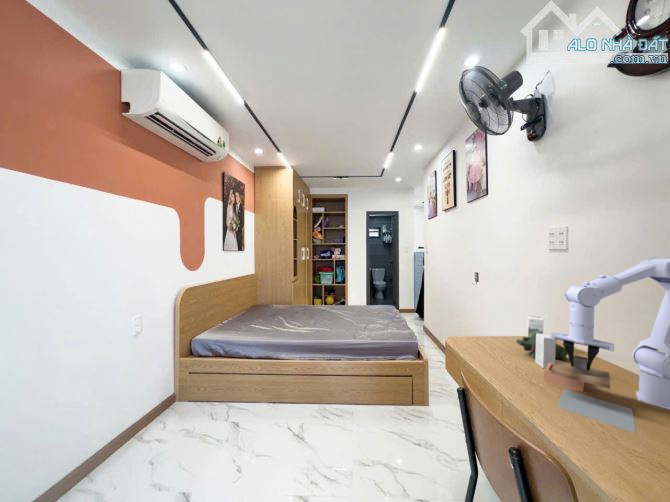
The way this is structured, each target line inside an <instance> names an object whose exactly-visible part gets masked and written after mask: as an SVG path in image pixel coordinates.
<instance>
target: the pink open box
mask: <svg viewBox="0 0 670 502" xmlns="http://www.w3.org/2000/svg"><path fill="white" fill-rule="evenodd" d="M553 365H554V363H550V362H548V364H547V366H546V368H543V369H544V370H543V381H544V382H547V383H552V384H554V385H558V386H561V387H564V388H569V389H573V390H575V391H579V392H582V393H583V392H584V388H585V383H586V382H582V381H579V380H575V379H571V378H567V377H564V376H560V375H556V374H552V373H551V369H552V367H553Z"/></svg>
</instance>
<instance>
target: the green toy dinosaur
mask: <svg viewBox="0 0 670 502" xmlns="http://www.w3.org/2000/svg"><path fill="white" fill-rule="evenodd" d="M536 333H537V332H536ZM536 333H535V334H534V335H533V336H532V337H527V336H526V337H525V336H522V340H521V339H517V338H516V343H517V344H518V345H519V346H522V348H523V351H525V352H527V354H529V355H530V356H531V357H532V358H534V359H535V353H536ZM537 334H539V333H537ZM567 356H568V354H567V351H566V349H565V348H564V346H562V345H560V344H558V343H557V342H556V346H555V358H557V359H558V360H559V359H560V361H564V362H568V363H570V359H569V358H568V359H567V358H566V357H567Z"/></svg>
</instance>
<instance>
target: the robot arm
mask: <svg viewBox="0 0 670 502" xmlns="http://www.w3.org/2000/svg"><path fill="white" fill-rule="evenodd" d="M646 278H650V279H651V280H653V281H654V282H655V283H657V284H659V285H660V286H661V287H662V288H663V289H664V290H665V291H664V296H663V298H662V300H661V301H662V302H661V305H660V307H659V309H658V313H657V316H656V318H655V321H654V326H653V327H652V330H651V334H650V336H649V338H646V339H643V340H640V341H639V343H638V345H637V347H636V348H635V349H633V351H632V353H631V358H632V359H633V362H635V363H636V364H637V365H636V366H637V368H638V369H639V370H638V371H639V372H638V373H639V375H638V377H639V378H638V391H637V390H636V391H635V393H636V399H637V401H638V402H642V403H644V404H645V403H646V404H648V405H652V406H656V407H659V408H663V409H666V410H670V258H664V257H663V258H660V257H659V258H658V257H650V258H647V259H645V260H641V261H639V263H638V264H635V265H634V266H632V267H630V268H627V269H625V270H624V271H622V272H619V273H617V274H615V275H609V274H600V275H598V276H597V278H595V279H593V280H591V281H583V283H582V284H581V285H573V286H570V287H569V288H568V289H567V290H566V293H564V297H565V299H566V300H567V302H568V306H569V314H568V315H569V320H568V322H569V323H568V325H569V327H568V329H569V330H568V334H565V333H559V332H558V333H557V332H551V334H550V336H551V339H552V340H556V341H560V342H563V343H562V345H563V346H562V347H564V348H565V349H566V351H567V356H568V359H570V361H569V363H571V366H572V367H573V362H574V356H575V344H576V345H581V346H586V347H587V370H589V371H590V368H591V367H592V364H593V361H594V360H595V358H596V357H597V355H598V354H599V353H600V349H602V350H605V351H609V352H615V343H612V342H608V341H607V342H606V341H602V340H599V339H594V335H595V333H594V332H595V331H594V330H595V306H598V304H600V303H601V300H602V299H604V298H607V297H610V296H612V295H615V294H617V293H619V292H621V291H622V290H623V286H626V285H629V284H632V283H635V282H638V281H641V280H644V279H646Z"/></svg>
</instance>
